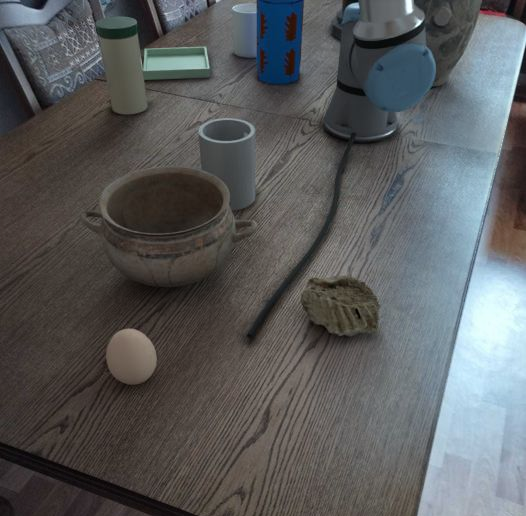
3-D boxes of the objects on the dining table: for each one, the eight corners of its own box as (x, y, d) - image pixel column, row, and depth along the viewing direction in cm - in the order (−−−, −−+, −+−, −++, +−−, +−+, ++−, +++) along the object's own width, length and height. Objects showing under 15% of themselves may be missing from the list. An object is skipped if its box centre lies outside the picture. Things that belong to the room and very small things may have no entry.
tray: (210, 77, 136) (209, 68, 135) (144, 80, 135) (143, 71, 133) (206, 55, 148) (206, 46, 146) (145, 57, 146) (144, 48, 145)
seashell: (367, 360, 74) (390, 296, 77) (374, 343, 67) (398, 273, 70) (289, 333, 76) (314, 272, 79) (288, 313, 69) (315, 247, 72)
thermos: (300, 69, 141) (307, -50, 123) (298, 85, 133) (305, -39, 115) (258, 67, 141) (259, -51, 123) (254, 83, 134) (253, -41, 116)
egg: (131, 354, 70) (121, 310, 65) (169, 370, 68) (161, 326, 63) (102, 385, 67) (89, 340, 61) (141, 402, 65) (130, 358, 59)
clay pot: (381, 58, 147) (402, -83, 125) (468, 72, 140) (506, -75, 119) (354, 87, 133) (373, -67, 111) (449, 104, 126) (489, -56, 104)
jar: (147, 113, 121) (135, 30, 109) (110, 115, 121) (94, 31, 109) (148, 99, 127) (136, 18, 115) (112, 100, 126) (98, 19, 114)
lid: (137, 38, 110) (136, 28, 109) (95, 39, 109) (93, 29, 108) (138, 25, 116) (137, 15, 115) (98, 26, 115) (96, 16, 114)
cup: (195, 204, 95) (189, 137, 87) (216, 180, 101) (212, 114, 93) (243, 214, 93) (242, 147, 85) (262, 189, 99) (262, 123, 90)
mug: (266, 44, 154) (267, 0, 146) (264, 59, 146) (264, 13, 138) (236, 43, 154) (235, -1, 147) (231, 58, 146) (230, 12, 138)
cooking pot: (72, 305, 77) (48, 231, 68) (111, 229, 90) (95, 158, 81) (250, 318, 75) (249, 244, 66) (263, 239, 88) (264, 168, 80)
